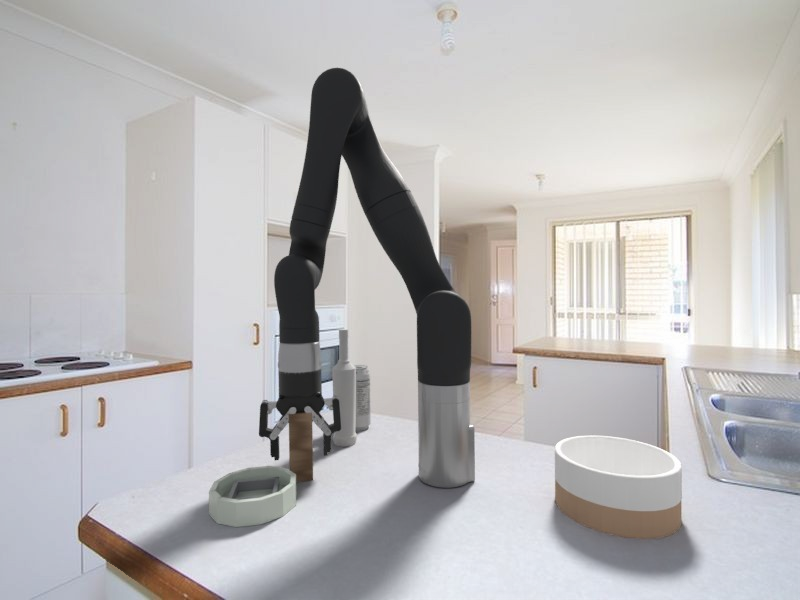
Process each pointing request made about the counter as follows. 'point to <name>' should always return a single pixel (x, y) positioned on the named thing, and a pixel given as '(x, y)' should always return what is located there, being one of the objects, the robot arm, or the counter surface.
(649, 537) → the bowl
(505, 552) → the counter surface
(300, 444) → the brown wooden block
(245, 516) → the pale green faceted dish
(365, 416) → the energy drink can
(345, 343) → the bottle
